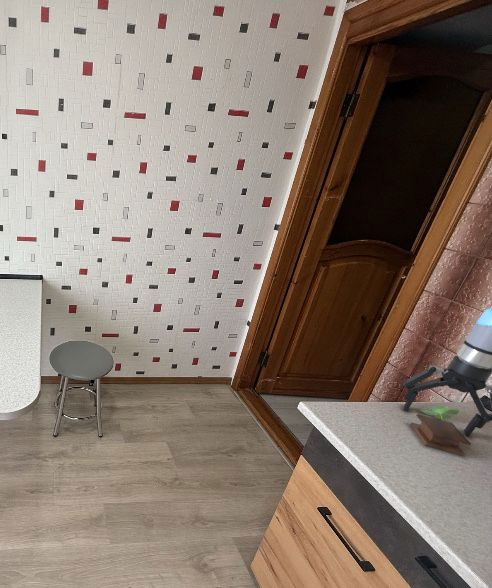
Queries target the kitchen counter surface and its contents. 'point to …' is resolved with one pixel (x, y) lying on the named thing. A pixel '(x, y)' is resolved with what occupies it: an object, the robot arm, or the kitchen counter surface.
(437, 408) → the seedling
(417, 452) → the kitchen counter surface
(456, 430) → the plant stand
